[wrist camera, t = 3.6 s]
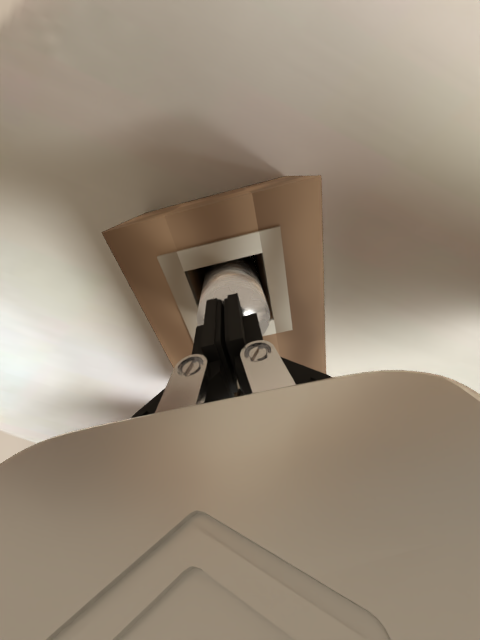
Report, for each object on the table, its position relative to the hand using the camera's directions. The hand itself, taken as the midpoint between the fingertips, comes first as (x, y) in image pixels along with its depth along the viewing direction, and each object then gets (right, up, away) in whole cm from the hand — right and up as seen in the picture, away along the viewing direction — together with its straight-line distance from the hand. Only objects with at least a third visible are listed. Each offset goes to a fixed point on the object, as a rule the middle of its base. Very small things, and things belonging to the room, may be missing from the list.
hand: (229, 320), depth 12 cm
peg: (0, +4, +6) cm, 7 cm away
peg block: (+1, +1, +12) cm, 12 cm away
